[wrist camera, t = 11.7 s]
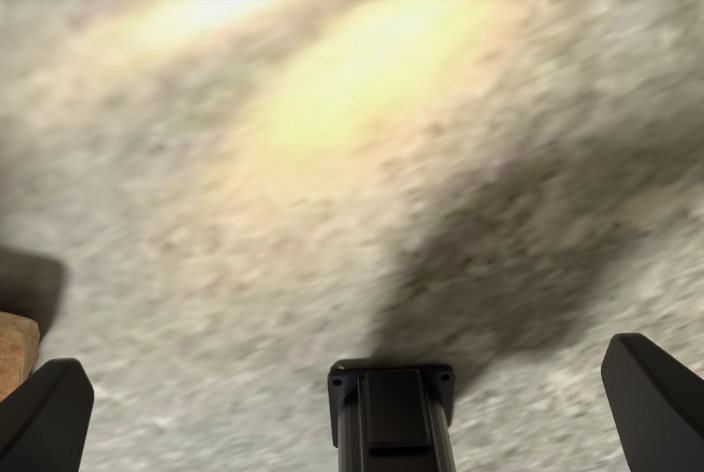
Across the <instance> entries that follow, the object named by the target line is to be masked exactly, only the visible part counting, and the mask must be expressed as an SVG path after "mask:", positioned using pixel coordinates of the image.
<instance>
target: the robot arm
mask: <svg viewBox="0 0 704 472" xmlns="http://www.w3.org/2000/svg"><path fill="white" fill-rule="evenodd" d="M601 376H602V380H603V384H604V387H605V391H606V394H607V397H608V401H609V404H610V407H611V411H612V414H613V417H614V421H615V424H616V427H617V431H618V434H619V437H620V441H621V444H622V447H623V451H624V454H625V457H626V460H627V463H628V466H629V468H630V471H631V472H704V380H703V379H702V378H700V377H699V376H698V375H696V374H695V373H694V372H692V371H691V370H690V369H688V368H687V367H686V366H684V365H683V364H682V363H680V362H679V361H678V360H676V359H675V358H674V357H672V356H671V355H670V354H668V353H667V352H666V351H664V350H663V349H662V348H660V347H659V346H658V345H656V344H655V343H654V342H652V341H651V340H649V339H648V338H647V337H645V336H644V335H642V334H640V333H619V334H615V335H614V336H613V337H612V339H611V341H610V344H609V346H608V349H607V352H606V354H605V357H604V360H603V362H602V366H601ZM454 381H455V374H454V370H453V368H452V367H451V366H448V365H436V366H414V367H391V368H369V369H346V370H333V371H331V372H330V373H329V374H328V393H329V404H330V415H331V427H332V438H333V445H334V446H335V447H336V448H338V465H339V472H456V468H455V463H454V458H453V452H452V447H451V442H450V437H449V432H448V426H449V419H450V411H451V404H452V396H453V389H454ZM93 403H94V390H93V387H92V384H91V383H90V381H89V379H88V377H87V375H86V373H85V371H84V369H83V367H82V365H81V363H80V361H79V360H77V359H76V358H58V359H52V360H50V361H48V362H46V363H45V364H44V365H43V366H42V367H40V368H39V369H38V370H37V371H36V372H35V373H33V374H32V375H31V376H30V377H29V378H28V379H26V380H25V381H24V382H23V383H22V384H21V385H20V386H18V387H17V388H16V389H15V390H14V391H13V392H11V393H10V394H9V395H8V396H7V397H6V398H4V399H3V400H2V401H1V402H0V472H78V471H79V467H80V462H81V458H82V453H83V449H84V444H85V440H86V435H87V431H88V426H89V421H90V417H91V412H92V408H93Z"/></svg>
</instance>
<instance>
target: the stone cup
mask: <svg viewBox="0 0 704 472" xmlns="http://www.w3.org/2000/svg"><path fill="white" fill-rule="evenodd" d="M39 338H40V332H39V329H38V323H37V322H36V321H34V320H33V319H30V318H26V317H22V316H19V315H15V314H11V313H6V312H1V311H0V402H1V401H2V400H3V399H4V398H6V397H7V396H8V395H9V394H10V393H11V392H13V391H14V390H15V389H16V388H17V387H18V386H20V385H21V384H22V383H23V382H24V381H25V380H26V379H28V375H29V373H30V371H31V369H32V367H33V366H34V365H35V364H36V361H37V357H38V347H39V343H38V342H39Z"/></svg>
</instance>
